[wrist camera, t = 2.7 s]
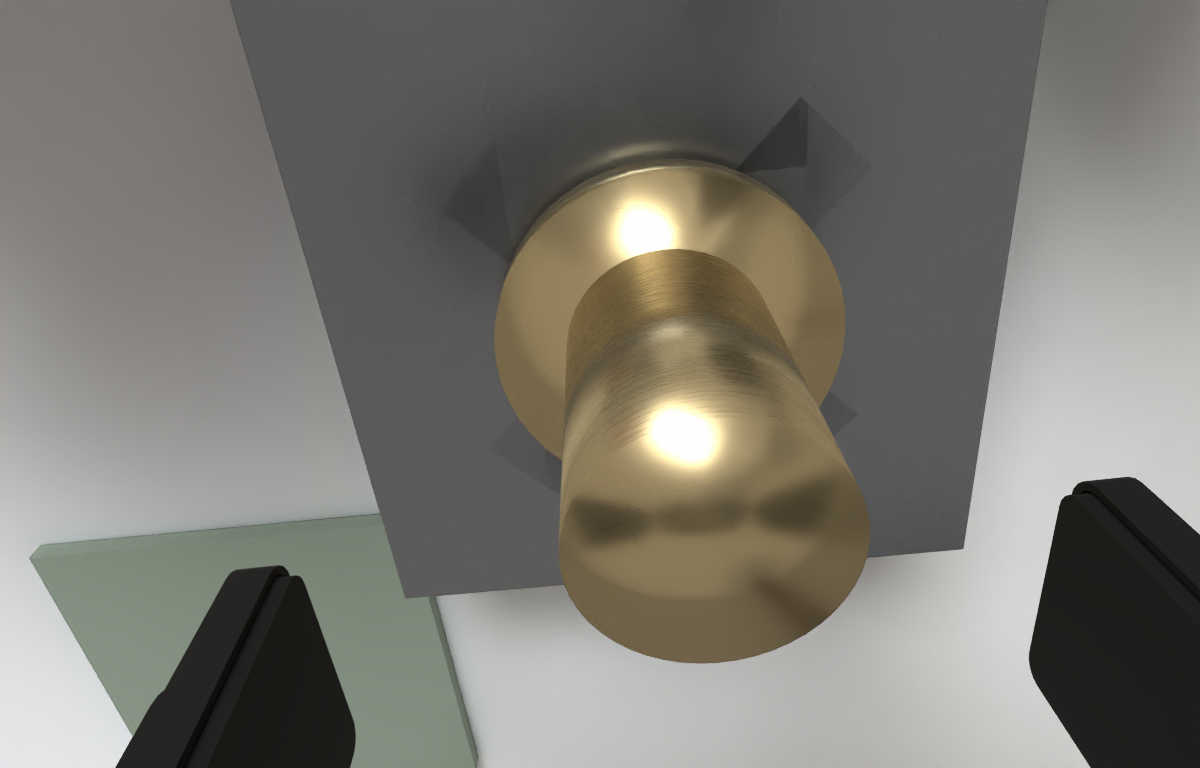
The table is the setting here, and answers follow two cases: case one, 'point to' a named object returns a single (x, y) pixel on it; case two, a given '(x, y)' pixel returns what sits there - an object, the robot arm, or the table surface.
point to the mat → (340, 600)
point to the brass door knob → (686, 408)
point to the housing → (612, 139)
